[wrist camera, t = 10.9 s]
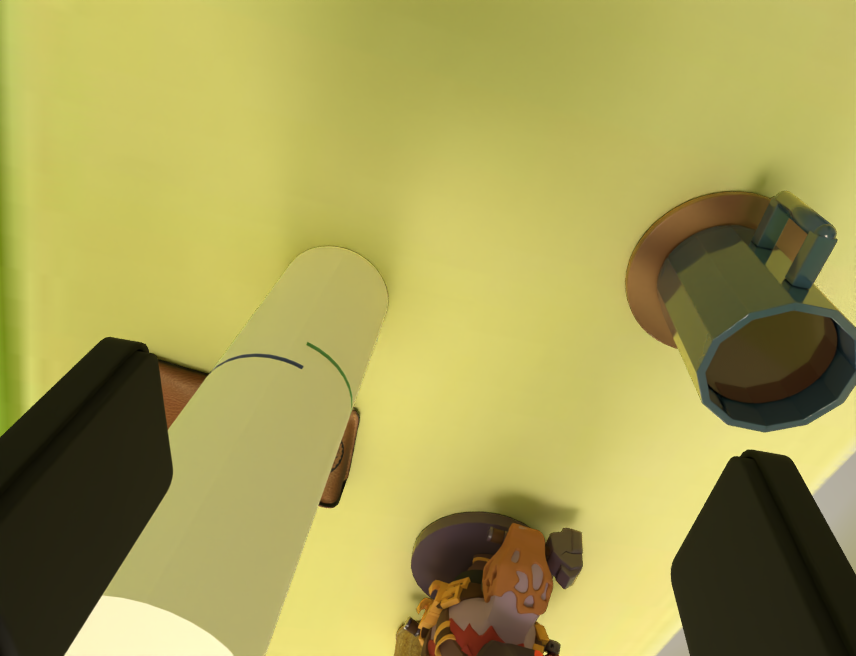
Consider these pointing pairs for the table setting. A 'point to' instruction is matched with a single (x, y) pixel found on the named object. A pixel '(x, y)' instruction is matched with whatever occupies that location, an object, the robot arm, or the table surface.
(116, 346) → the robot arm
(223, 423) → the cylindrical container
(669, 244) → the coaster
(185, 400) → the sunglasses case
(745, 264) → the mug
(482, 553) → the figurine
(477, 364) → the table surface
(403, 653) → the sprinkles bottle
